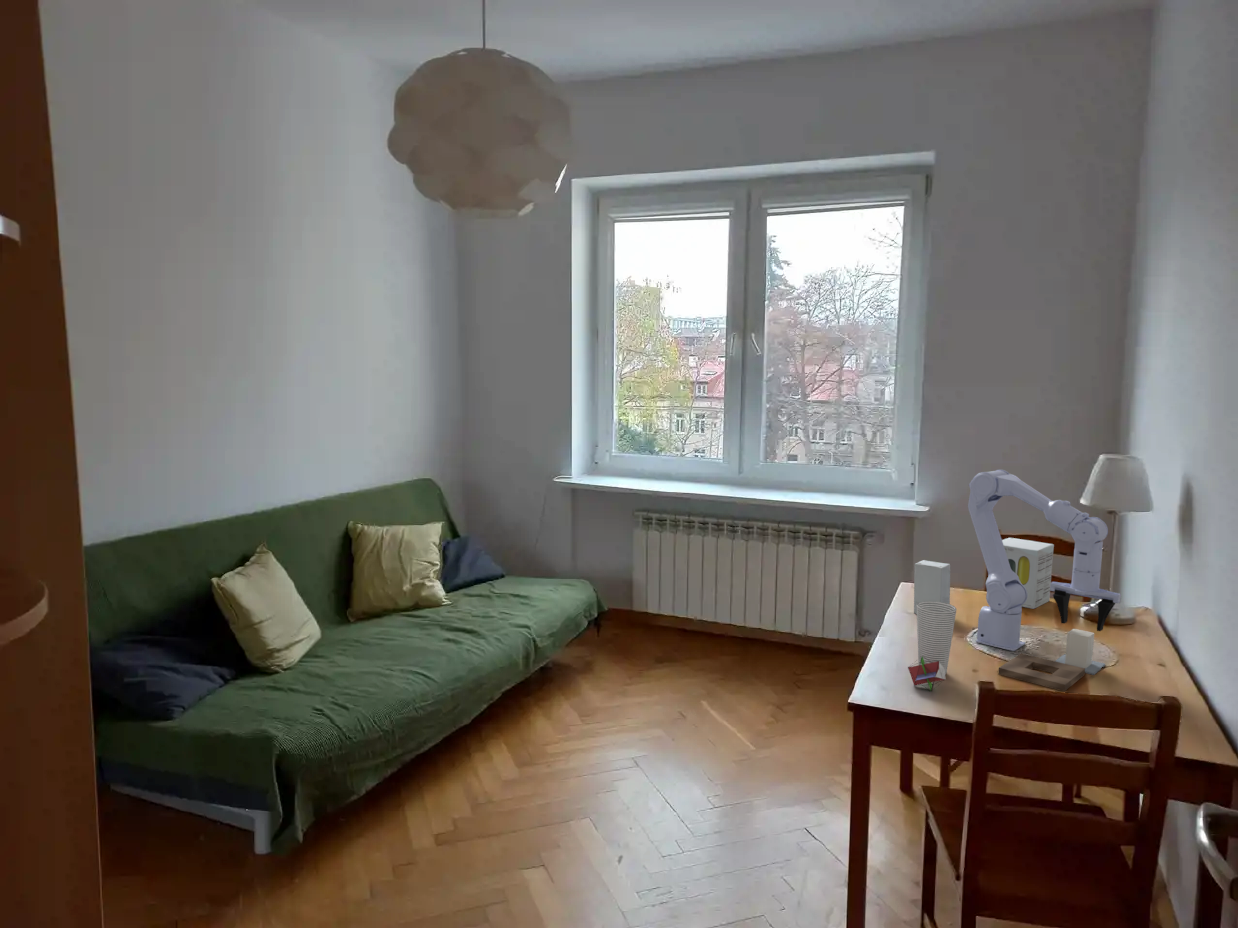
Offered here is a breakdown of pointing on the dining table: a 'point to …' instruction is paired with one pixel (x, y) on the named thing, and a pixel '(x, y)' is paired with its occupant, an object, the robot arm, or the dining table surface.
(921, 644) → the cup
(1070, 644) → the cream block
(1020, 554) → the supplement box
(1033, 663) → the pocket board
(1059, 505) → the robot arm
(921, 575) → the skincare box
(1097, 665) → the slate mat
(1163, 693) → the dining table surface
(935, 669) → the geometric puzzle
